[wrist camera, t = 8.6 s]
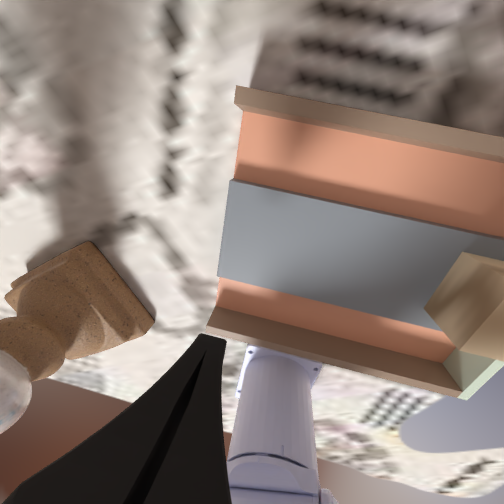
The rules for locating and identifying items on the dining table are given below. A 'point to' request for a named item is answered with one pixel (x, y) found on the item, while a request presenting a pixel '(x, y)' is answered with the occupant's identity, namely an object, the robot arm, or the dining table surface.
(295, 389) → the robot arm
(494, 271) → the maple block
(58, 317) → the candle holder
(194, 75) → the dining table surface
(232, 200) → the box
